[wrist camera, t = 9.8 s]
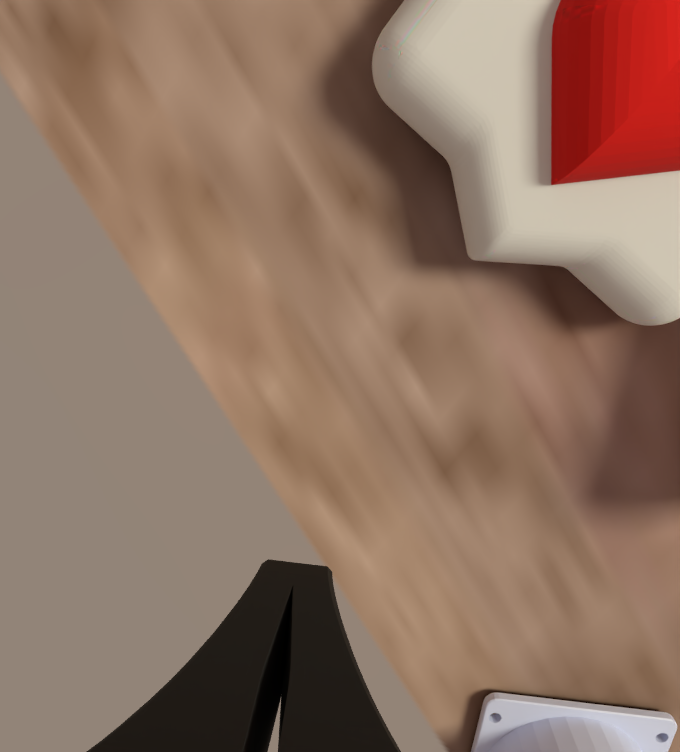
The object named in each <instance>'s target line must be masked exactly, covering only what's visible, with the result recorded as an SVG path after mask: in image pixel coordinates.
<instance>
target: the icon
mask: <svg viewBox="0 0 680 752" xmlns="http://www.w3.org/2000/svg"><path fill="white" fill-rule="evenodd" d="M372 74H373V80H374V84H375V87H376V89H377V92H378V94H379V95H380V97H381V99H382V100H383V101H384V103H385V104H386V105H387V106H388V107H389V108H390V109H391V110H393V111H394V112H395V113H396V114H397V115H398V116H399V117H400V118H401V119H402V120H404V121H405V122H406V123H407V124H408V125H409V126H410V127H411V128H412V129H413V130H415V131H416V132H417V133H418V134H419V135H420V136H421V137H422V138H423V139H424V140H426V141H427V142H428V143H429V144H430V145H431V146H432V147H433V148H434V149H435V150H437V151H438V152H439V153H440V154H441V155H442V156H443V157H444V158H445V159H446V160H447V162H448V164H449V166H450V169H451V173H452V178H453V183H454V188H455V193H456V199H457V204H458V209H459V214H460V219H461V224H462V229H463V234H464V239H465V245H466V250H467V254H468V256H469V257H470V258H471V259H472V260H475V261H489V262H505V263H520V264H536V265H552V266H561V267H564V268H566V269H567V270H569V271H570V272H571V273H572V274H573V275H574V276H575V277H576V278H577V279H579V280H580V281H581V282H582V283H583V284H584V285H585V286H586V287H587V288H588V289H590V290H591V291H592V292H593V293H594V294H595V295H596V296H597V297H598V298H599V299H601V300H602V301H603V302H604V303H605V304H606V305H607V306H608V307H609V308H611V309H612V310H613V311H614V312H615V313H616V314H617V315H619V316H620V317H622V318H623V319H625V320H627V321H630V322H632V323H635V324H639V325H646V326H655V325H662V324H666V323H669V322H672V321H675V320H677V319H679V318H680V0H404V1H403V3H402V4H401V5H400V7H399V8H398V9H397V11H396V12H395V13H394V15H393V16H392V18H391V19H390V20H389V22H388V23H387V24H386V26H385V27H384V28H383V30H382V32H381V33H380V35H379V37H378V39H377V42H376V45H375V48H374V52H373V58H372Z"/></svg>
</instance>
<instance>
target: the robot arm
mask: <svg viewBox="0 0 680 752" xmlns="http://www.w3.org/2000/svg"><path fill="white" fill-rule="evenodd" d="M281 694H282V695H281ZM280 698H281V711H280V728H279V744H278V752H401V751H400V750H399V748H398V746H397V744H396V742H395V741H394V739H393V737H392V736H391V734H390V732H389V730H388V728H387V726H386V724H385V722H384V721H383V719H382V717H381V715H380V713H379V711H378V709H377V707H376V705H375V703H374V701H373V699H372V697H371V695H370V692H369V690H368V688H367V686H366V683H365V681H364V679H363V676H362V674H361V672H360V669H359V667H358V665H357V662H356V660H355V657H354V655H353V652H352V649H351V646H350V643H349V640H348V638H347V635H346V632H345V629H344V626H343V623H342V620H341V616H340V613H339V609H338V605H337V601H336V597H335V592H334V587H333V579H332V571H331V570H330V569H329V568H328V567H327V566H318V565H309V564H301V563H292V562H285V561H276V560H267V561H265V562H264V563H263V564H262V565H261V567H260V569H259V570H258V572H257V574H256V576H255V577H254V579H253V580H252V582H251V584H250V586H249V587H248V588H247V590H246V591H245V593H244V594H243V595H242V597H241V598H240V600H239V601H238V603H237V604H236V605H235V606H234V608H233V609H232V610H231V612H230V613H229V614H228V615H227V617H226V618H225V619H224V621H223V622H222V623H221V624H220V626H219V627H218V628H217V629H216V631H215V632H214V633H213V634H212V635H211V637H210V638H209V639H208V640H207V641H206V642H205V643H204V645H203V646H202V647H201V648H200V649H199V650H198V651H197V652H196V653H195V655H194V656H193V657H192V658H191V659H190V660H189V661H188V663H186V665H185V666H184V667H183V668H182V669H181V670H180V671H179V672H178V673H177V674H176V675H175V676H174V677H173V678H172V679H171V680H170V681H169V682H168V683H167V684H166V685H165V686H164V687H163V688H162V689H160V690H159V691H158V693H156V694H155V695H154V696H153V697H152V698H151V699H150V700H149V701H148V702H147V703H145V704H144V705H143V706H142V707H141V708H140V709H139V710H137V711H136V712H135V713H134V714H133V715H132V716H131V717H130V718H128V719H127V720H126V721H125V722H124V723H123V724H121V725H120V726H119V727H118V728H117V729H115V730H114V731H113V732H112V733H110V734H109V735H108V736H107V737H105V738H104V739H103V740H102V741H100V742H99V743H98V744H96V745H95V746H94V747H92V748H91V749H90V750H88V751H87V752H267V751H268V747H269V743H270V739H271V735H272V731H273V727H274V722H275V719H276V715H277V711H278V707H279V703H280ZM493 713H497V714H493ZM676 730H677V724H676V722H675V720H674V718H673V717H672V716H671V715H670V714H669V713H665V712H658V711H650V710H641V709H633V708H624V707H616V706H608V705H599V704H591V703H582V702H574V701H566V700H557V699H549V698H540V697H532V696H524V695H515V694H507V693H498V692H495V693H491V694H489V695H487V696H486V697H485V699H484V701H483V705H482V709H481V713H480V717H479V721H478V725H477V729H476V733H475V737H474V741H473V745H472V749H471V752H668V750H669V748H670V745H671V743H672V740H673V738H674V735H675V733H676Z"/></svg>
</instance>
